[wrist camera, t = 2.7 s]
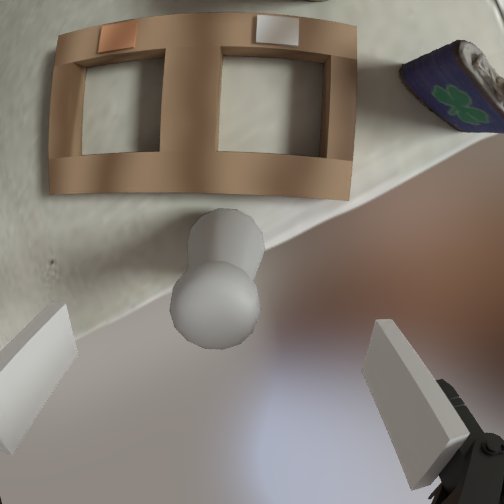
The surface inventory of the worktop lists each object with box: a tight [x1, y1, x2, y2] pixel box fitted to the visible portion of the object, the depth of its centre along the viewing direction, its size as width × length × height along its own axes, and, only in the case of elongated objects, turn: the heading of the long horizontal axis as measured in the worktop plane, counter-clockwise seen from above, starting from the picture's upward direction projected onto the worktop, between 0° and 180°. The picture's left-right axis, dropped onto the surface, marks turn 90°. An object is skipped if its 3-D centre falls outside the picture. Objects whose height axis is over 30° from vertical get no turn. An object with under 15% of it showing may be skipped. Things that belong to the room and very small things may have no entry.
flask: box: [399, 40, 504, 133], centre depth 17 cm, size 9×3×11 cm, turn 62°
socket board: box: [49, 12, 357, 201], centre depth 21 cm, size 24×14×3 cm, turn 87°
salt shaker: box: [170, 208, 265, 349], centre depth 20 cm, size 6×6×13 cm
